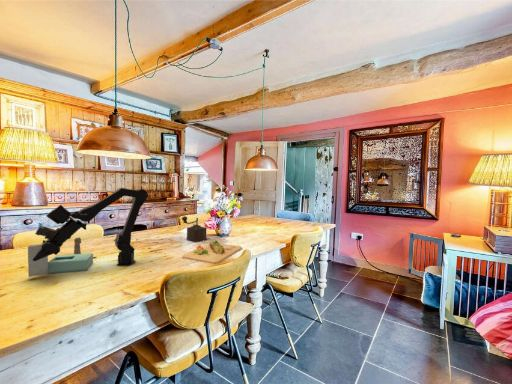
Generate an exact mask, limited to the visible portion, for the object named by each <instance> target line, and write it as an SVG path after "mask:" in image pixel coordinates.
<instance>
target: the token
mask: <svg viewBox="0 0 512 384" xmlns="http://www.w3.org/2000/svg"><path fill="white" fill-rule="evenodd" d="M41 249H42V243H40V244H34V245H33V244H31V245H28V246H27V260H28V261H27V264H28V267H27V269H28V270H27V271H28V274H27V275H28V278H31V277H37V276H43V275H49V274H48V262H49V256H46V257H44V258H42V259H39V260H37V261H33V258H34V257H35V256H36V255H37V254H38V253H39V251H40V250H41Z"/></svg>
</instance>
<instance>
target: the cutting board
mask: <svg viewBox="0 0 512 384" xmlns="http://www.w3.org/2000/svg"><path fill="white" fill-rule="evenodd" d="M242 249H243V247H242V246H241V245H240V246H239V245H233V244H228V243H220V242H219V241H218V240H212V241H211V242H210V243H207V244H205V245H203V246H201V245H199V244H198V246H197V247H196V248H195V249H193V250H190V251H189V252H187V253H184V254H182V255H181V256H182V257H181V258H182V259H185V260H189V261H194V262H200V263H201V262H202V263H207V264H212V265H216V264H220V263H221V262H223V261H224V260H226V259H229V257H231V256H233V255H234V254H237V253H238V252H240V251H242ZM239 250H240V251H239Z"/></svg>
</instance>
